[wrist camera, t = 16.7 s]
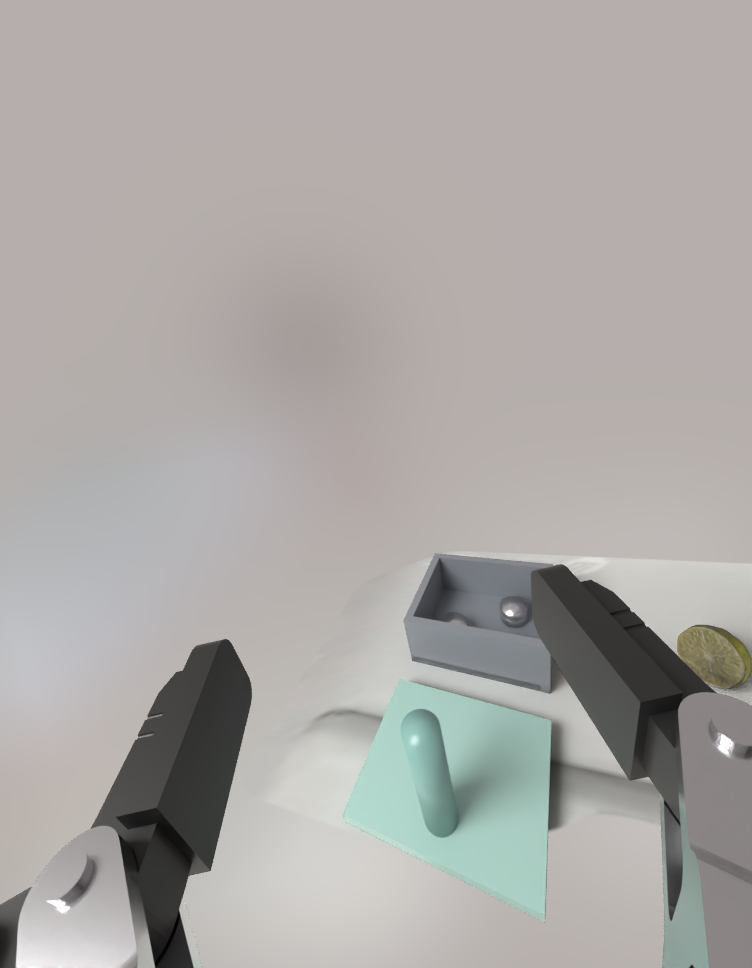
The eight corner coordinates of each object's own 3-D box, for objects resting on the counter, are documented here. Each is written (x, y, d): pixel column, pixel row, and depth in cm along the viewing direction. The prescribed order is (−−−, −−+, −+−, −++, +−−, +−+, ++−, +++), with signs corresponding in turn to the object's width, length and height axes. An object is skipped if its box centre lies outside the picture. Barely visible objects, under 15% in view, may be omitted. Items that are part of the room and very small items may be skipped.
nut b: (470, 627, 43) (469, 614, 42) (465, 647, 40) (463, 634, 40) (445, 622, 44) (443, 610, 43) (439, 642, 42) (436, 629, 41)
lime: (750, 704, 31) (763, 662, 29) (676, 682, 33) (683, 642, 31) (740, 662, 34) (751, 622, 32) (673, 646, 37) (680, 607, 35)
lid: (551, 734, 32) (550, 633, 27) (545, 929, 22) (541, 824, 18) (402, 691, 38) (381, 603, 33) (348, 828, 29) (307, 731, 24)
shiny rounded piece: (528, 611, 43) (528, 597, 42) (527, 630, 41) (526, 616, 40) (502, 607, 45) (501, 594, 44) (499, 625, 42) (498, 612, 41)
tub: (553, 604, 44) (552, 564, 42) (550, 693, 35) (549, 647, 32) (440, 589, 51) (435, 553, 48) (412, 660, 41) (403, 620, 39)
